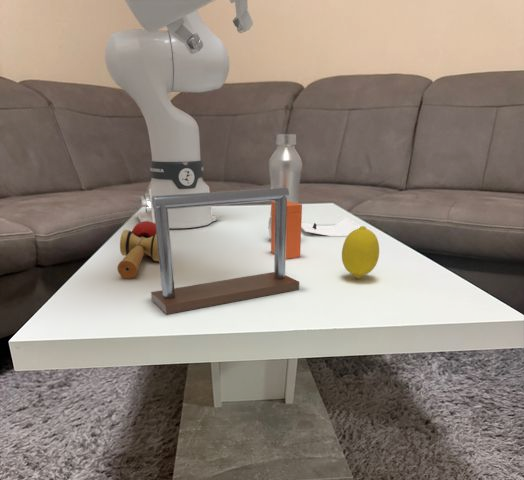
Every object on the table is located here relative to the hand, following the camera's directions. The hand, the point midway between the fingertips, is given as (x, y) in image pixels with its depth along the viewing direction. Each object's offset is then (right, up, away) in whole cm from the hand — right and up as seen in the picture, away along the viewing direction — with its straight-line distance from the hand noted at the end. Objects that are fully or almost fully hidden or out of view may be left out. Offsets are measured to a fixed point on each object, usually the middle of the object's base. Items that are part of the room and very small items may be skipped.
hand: (221, 40), depth 62 cm
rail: (+1, -35, +2) cm, 35 cm away
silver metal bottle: (+10, -20, +33) cm, 39 cm away
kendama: (-15, -28, +16) cm, 35 cm away
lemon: (+21, -31, +9) cm, 38 cm away
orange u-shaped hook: (+10, -25, +22) cm, 34 cm away
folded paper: (+20, -15, +42) cm, 49 cm away
